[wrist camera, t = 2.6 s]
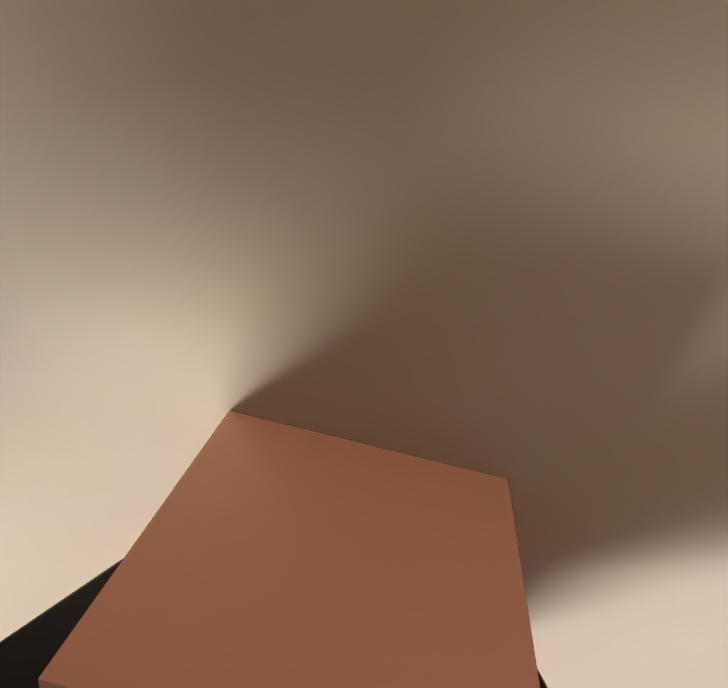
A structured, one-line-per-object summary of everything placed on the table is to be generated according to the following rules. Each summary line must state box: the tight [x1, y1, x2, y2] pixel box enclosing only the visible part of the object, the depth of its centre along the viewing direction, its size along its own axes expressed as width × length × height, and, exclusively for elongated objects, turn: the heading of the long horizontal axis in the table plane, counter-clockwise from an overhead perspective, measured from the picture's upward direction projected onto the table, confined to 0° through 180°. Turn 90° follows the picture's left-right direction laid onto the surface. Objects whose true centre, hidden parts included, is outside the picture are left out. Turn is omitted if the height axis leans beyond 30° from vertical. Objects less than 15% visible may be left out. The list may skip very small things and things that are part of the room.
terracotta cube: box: [38, 411, 540, 688], centre depth 7 cm, size 4×4×4 cm
